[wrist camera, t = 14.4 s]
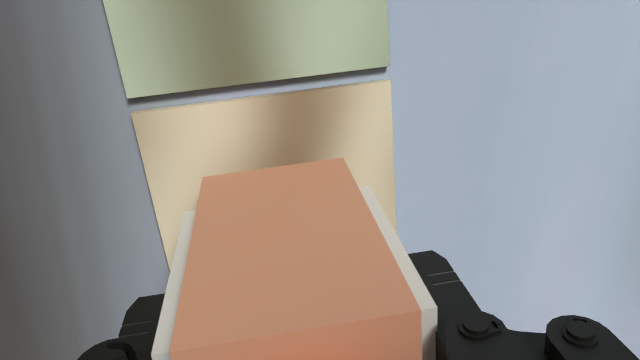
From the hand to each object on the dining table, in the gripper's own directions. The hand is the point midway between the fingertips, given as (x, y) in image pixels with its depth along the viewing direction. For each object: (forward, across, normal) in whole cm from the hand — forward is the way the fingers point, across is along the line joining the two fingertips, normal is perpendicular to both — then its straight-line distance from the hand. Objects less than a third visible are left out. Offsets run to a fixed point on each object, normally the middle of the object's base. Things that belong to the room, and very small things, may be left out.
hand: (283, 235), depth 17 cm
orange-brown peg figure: (0, 0, 0) cm, 0 cm away
